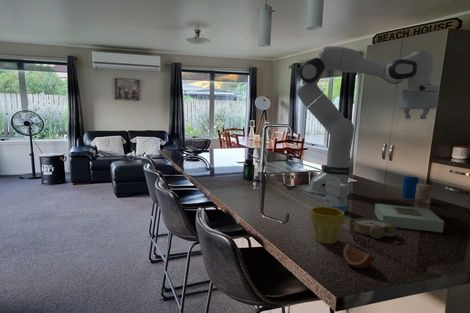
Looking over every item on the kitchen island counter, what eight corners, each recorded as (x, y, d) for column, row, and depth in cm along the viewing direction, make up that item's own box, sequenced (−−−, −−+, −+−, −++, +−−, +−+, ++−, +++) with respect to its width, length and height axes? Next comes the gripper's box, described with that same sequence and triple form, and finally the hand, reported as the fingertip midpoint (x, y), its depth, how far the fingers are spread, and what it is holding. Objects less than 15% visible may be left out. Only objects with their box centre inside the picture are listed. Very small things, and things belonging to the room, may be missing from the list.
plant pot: (304, 233, 105) (306, 205, 104) (334, 233, 106) (336, 206, 105) (315, 246, 95) (317, 216, 94) (347, 246, 96) (350, 216, 94)
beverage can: (418, 201, 151) (421, 177, 149) (403, 200, 152) (406, 176, 150) (413, 198, 157) (416, 174, 155) (399, 197, 158) (402, 174, 157)
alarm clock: (371, 217, 117) (405, 223, 103) (372, 230, 116) (406, 238, 102) (347, 219, 113) (379, 227, 99) (347, 233, 113) (380, 242, 99)
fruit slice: (337, 260, 87) (338, 243, 86) (355, 256, 89) (357, 240, 89) (358, 275, 79) (360, 256, 78) (378, 270, 82) (380, 253, 81)
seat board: (382, 225, 116) (383, 214, 115) (374, 212, 131) (375, 202, 130) (442, 232, 111) (444, 220, 110) (427, 218, 126) (428, 208, 125)
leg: (416, 213, 132) (420, 185, 130) (413, 210, 136) (416, 183, 135) (428, 214, 131) (432, 186, 129) (425, 211, 135) (428, 184, 134)
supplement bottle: (246, 180, 185) (247, 160, 183) (241, 178, 191) (241, 158, 189) (256, 179, 188) (257, 160, 187) (250, 177, 194) (251, 158, 193)
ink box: (346, 212, 130) (349, 178, 128) (338, 213, 128) (340, 178, 126) (332, 206, 138) (335, 174, 136) (323, 207, 136) (326, 174, 134)
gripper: (396, 89, 151) (393, 118, 153) (430, 86, 131) (426, 119, 133) (407, 90, 152) (404, 118, 154) (442, 87, 132) (438, 119, 134)
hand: (415, 118), depth 143 cm, fingers open, 8 cm apart
